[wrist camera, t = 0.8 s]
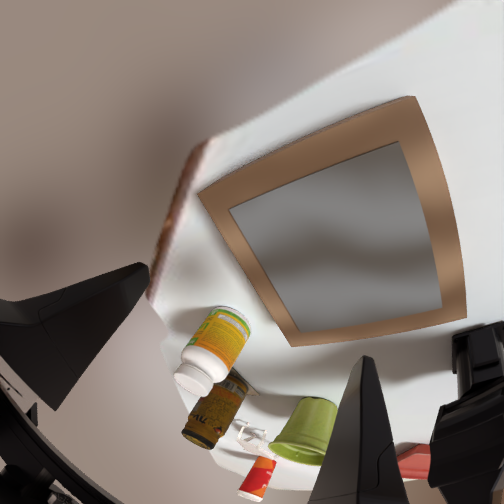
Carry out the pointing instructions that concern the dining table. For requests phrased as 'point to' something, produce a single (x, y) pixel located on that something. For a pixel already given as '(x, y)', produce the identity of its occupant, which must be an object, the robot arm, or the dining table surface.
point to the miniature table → (252, 447)
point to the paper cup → (257, 479)
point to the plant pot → (306, 432)
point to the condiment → (216, 410)
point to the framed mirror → (347, 229)
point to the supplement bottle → (212, 350)
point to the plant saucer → (415, 462)
